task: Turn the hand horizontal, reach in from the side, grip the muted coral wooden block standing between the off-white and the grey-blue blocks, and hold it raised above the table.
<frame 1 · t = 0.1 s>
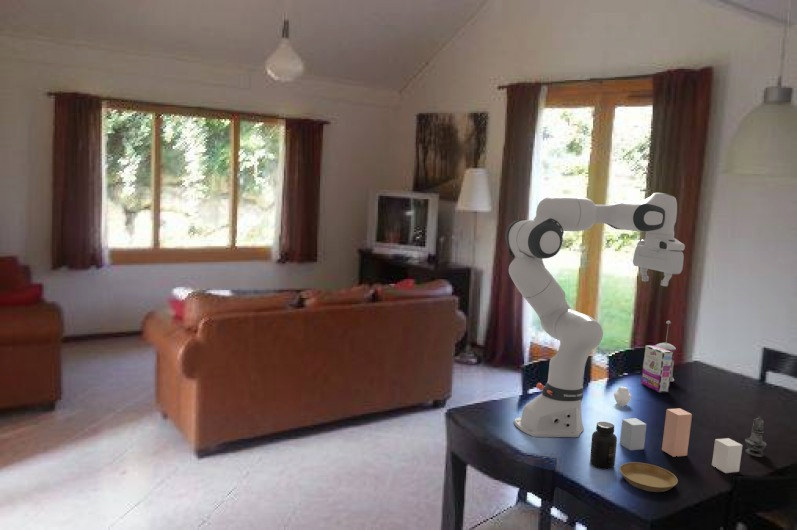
hand: (654, 283, 214), 48 cm above the table, tool pointing down, fingers open, 8 cm apart
grey-blue block: (631, 446, 198), on the table
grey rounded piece: (621, 405, 236), on the table
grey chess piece: (754, 453, 198), on the table
coral block: (674, 452, 195), on the table
grey disc with stem: (660, 377, 274), on the table
plant saucer: (647, 483, 174), on the table
supplement bottle: (601, 465, 183), on the table
off-white block: (725, 468, 186), on the table
candy bar box: (654, 388, 258), on the table
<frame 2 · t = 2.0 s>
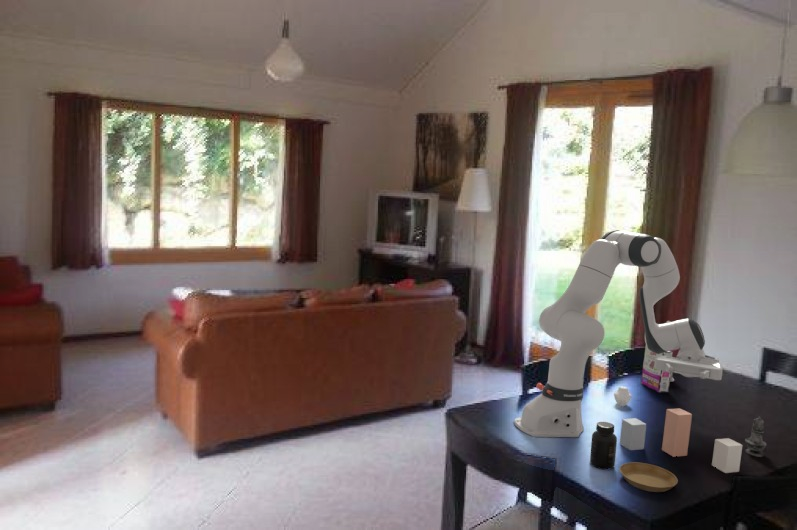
hand: (686, 373, 203), 22 cm above the table, tool horizontal, fingers open, 8 cm apart
nothing on the table moved.
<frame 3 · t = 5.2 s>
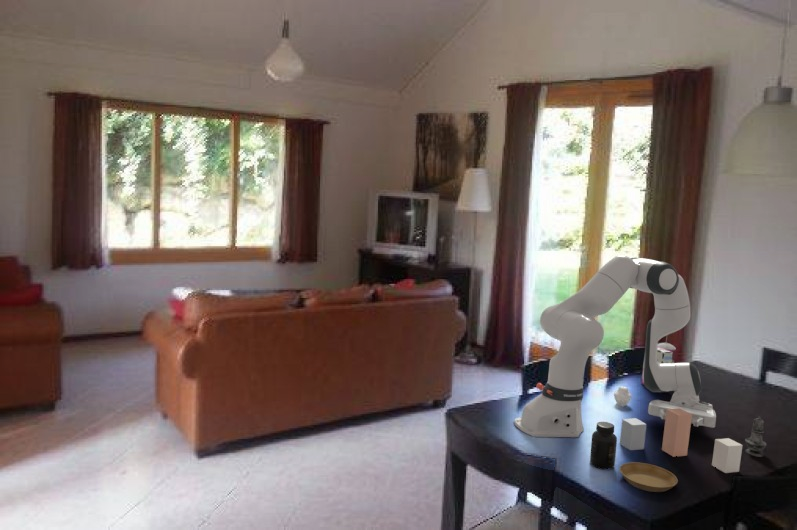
hand: (679, 420, 203), 7 cm above the table, tool horizontal, fingers open, 8 cm apart
nothing on the table moved.
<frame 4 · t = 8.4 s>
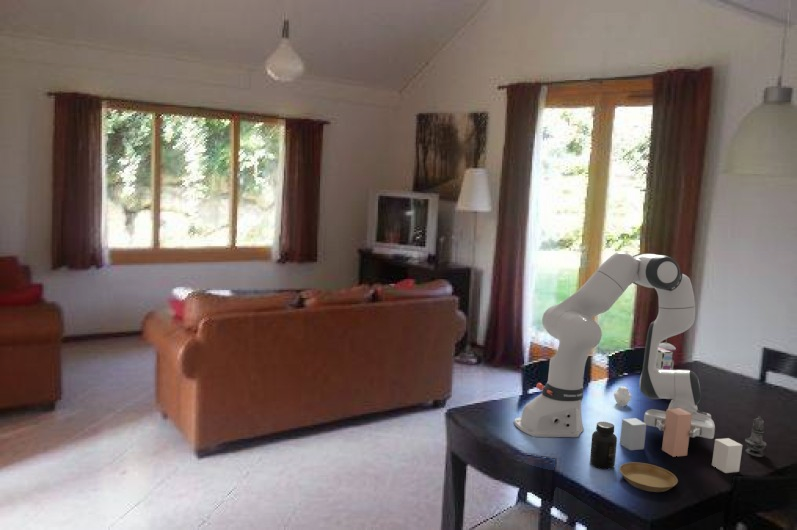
hand: (676, 431, 193), 7 cm above the table, tool horizontal, fingers closed on coral block, 7 cm apart
coral block: (674, 452, 195), on the table, touching gripper
everything else where it was.
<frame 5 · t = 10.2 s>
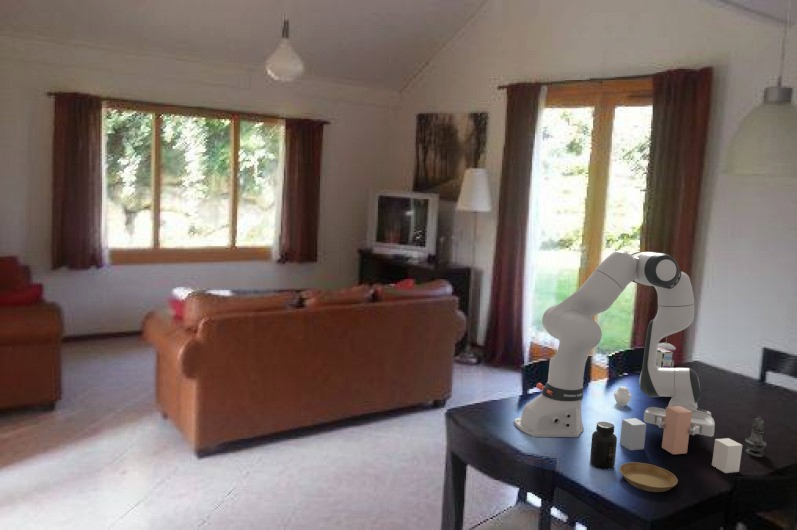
hand: (676, 429, 193), 8 cm above the table, tool horizontal, fingers closed on coral block, 7 cm apart
coral block: (674, 450, 195), point 1 cm above the table, touching gripper
everything else where it was.
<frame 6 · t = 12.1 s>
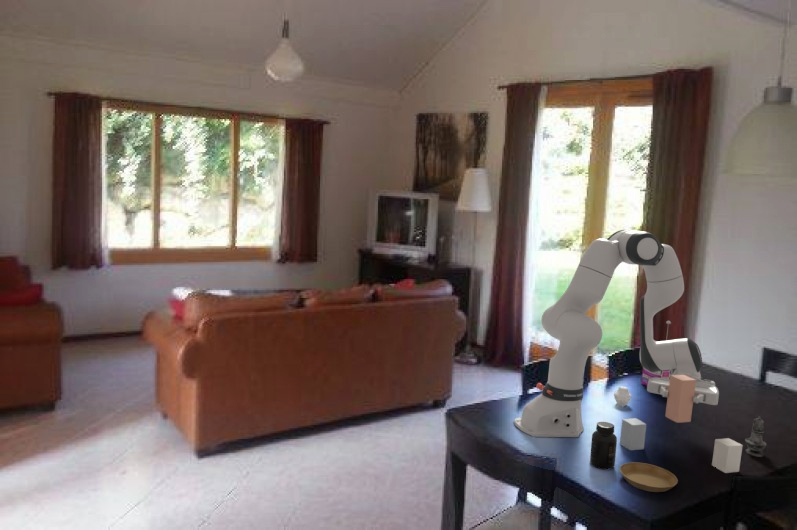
hand: (680, 397, 192), 18 cm above the table, tool horizontal, fingers closed on coral block, 7 cm apart
coral block: (677, 419, 193), point 11 cm above the table, touching gripper
everything else where it was.
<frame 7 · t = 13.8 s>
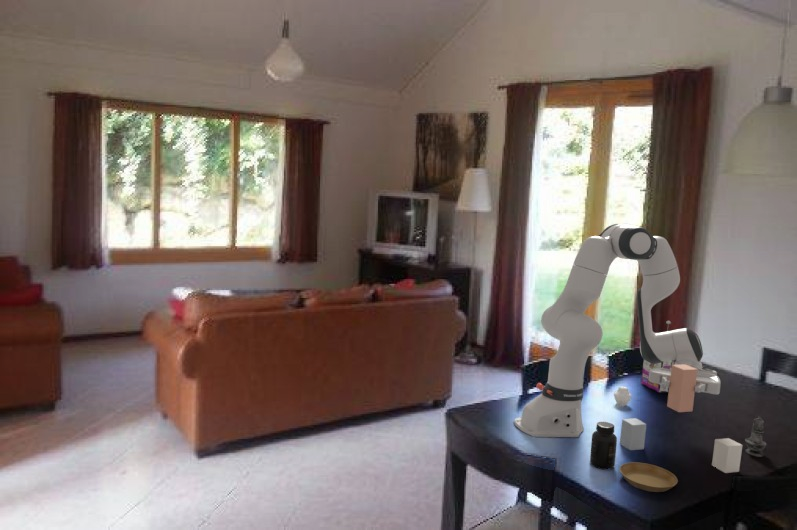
hand: (682, 387, 191), 21 cm above the table, tool horizontal, fingers closed on coral block, 7 cm apart
coral block: (679, 408, 193), point 14 cm above the table, touching gripper
everything else where it was.
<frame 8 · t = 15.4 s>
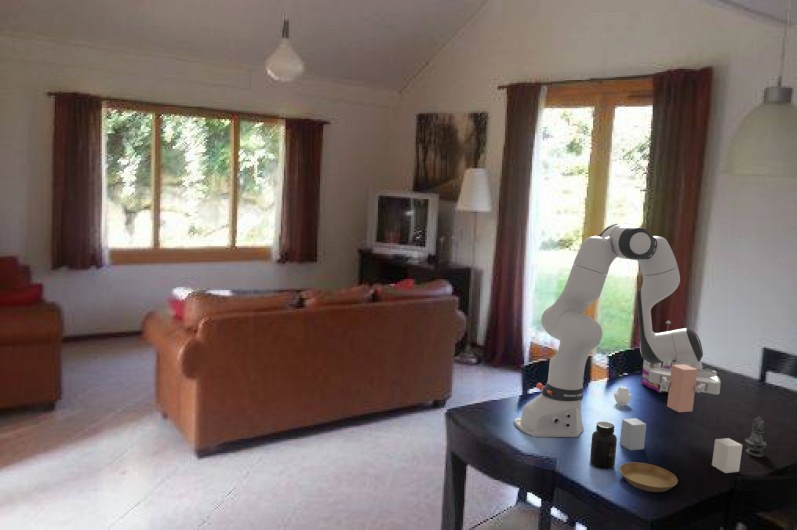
hand: (682, 387, 191), 21 cm above the table, tool horizontal, fingers closed on coral block, 7 cm apart
coral block: (679, 408, 193), point 14 cm above the table, touching gripper
everything else where it was.
at the end: the gripper is holding coral block; coral block point 13.9 cm above the table; off-white block moved 0.1 cm from its start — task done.
